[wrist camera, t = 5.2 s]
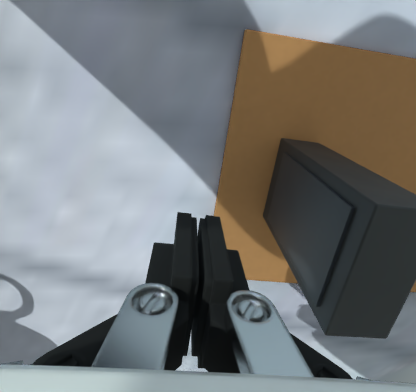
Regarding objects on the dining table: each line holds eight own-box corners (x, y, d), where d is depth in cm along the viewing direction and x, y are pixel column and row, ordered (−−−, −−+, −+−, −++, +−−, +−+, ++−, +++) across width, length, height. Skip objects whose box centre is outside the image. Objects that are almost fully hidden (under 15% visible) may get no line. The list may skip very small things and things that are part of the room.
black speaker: (260, 215, 22) (321, 336, 12) (278, 137, 20) (372, 204, 10) (297, 219, 22) (387, 339, 12) (319, 142, 20) (451, 212, 10)
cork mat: (204, 272, 24) (204, 276, 24) (244, 29, 18) (245, 28, 17) (459, 292, 27) (464, 296, 27) (578, 88, 20) (587, 88, 20)
